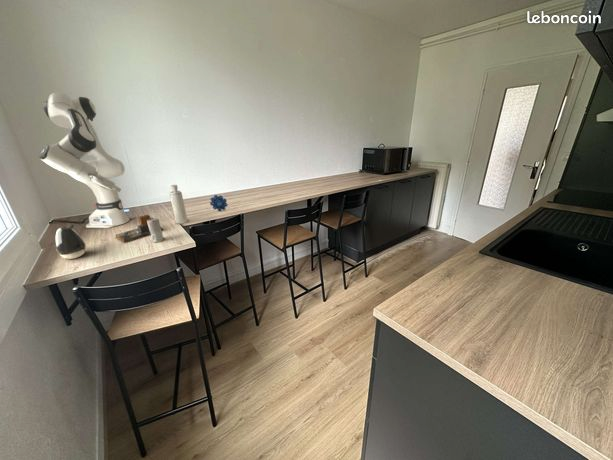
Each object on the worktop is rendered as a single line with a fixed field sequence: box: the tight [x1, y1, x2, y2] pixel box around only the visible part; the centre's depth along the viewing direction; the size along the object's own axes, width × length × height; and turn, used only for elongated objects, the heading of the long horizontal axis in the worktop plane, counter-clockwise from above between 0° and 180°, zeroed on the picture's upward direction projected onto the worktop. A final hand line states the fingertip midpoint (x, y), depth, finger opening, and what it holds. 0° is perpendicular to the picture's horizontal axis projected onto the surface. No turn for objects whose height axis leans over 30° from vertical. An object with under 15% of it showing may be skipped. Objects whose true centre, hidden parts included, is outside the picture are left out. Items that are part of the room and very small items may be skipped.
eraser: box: [136, 214, 151, 232], centre depth 144 cm, size 8×4×8 cm, turn 143°
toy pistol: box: [115, 227, 164, 243], centre depth 143 cm, size 20×12×2 cm, turn 143°
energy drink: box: [147, 217, 165, 243], centre depth 132 cm, size 5×5×12 cm
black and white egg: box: [54, 224, 87, 260], centre depth 117 cm, size 10×10×15 cm
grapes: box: [209, 194, 228, 212], centre depth 174 cm, size 12×7×12 cm, turn 122°
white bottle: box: [169, 184, 189, 224], centre depth 155 cm, size 7×7×25 cm
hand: (116, 189), depth 129 cm, fingers open, 8 cm apart
